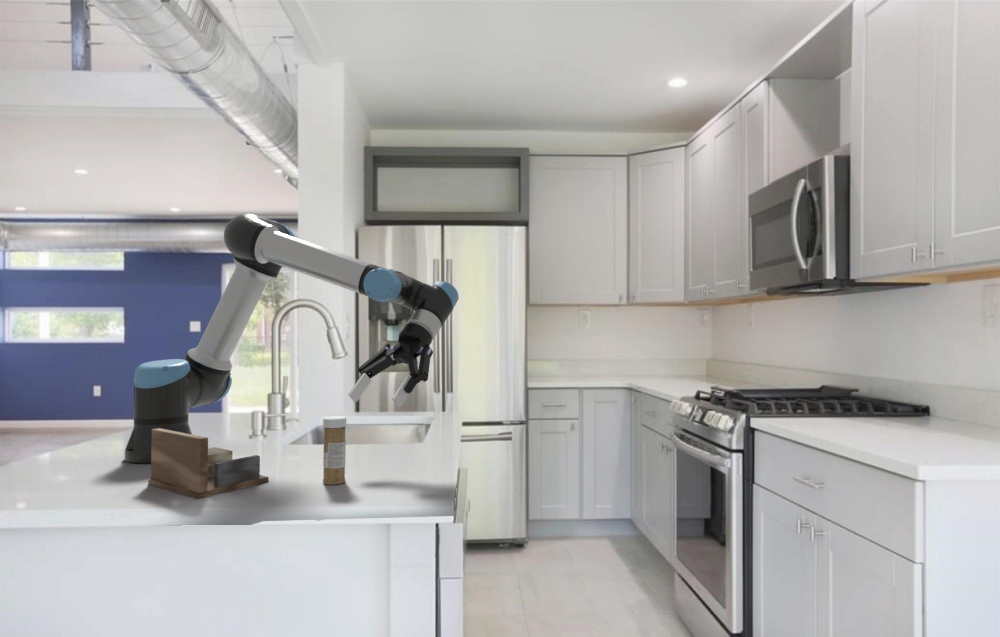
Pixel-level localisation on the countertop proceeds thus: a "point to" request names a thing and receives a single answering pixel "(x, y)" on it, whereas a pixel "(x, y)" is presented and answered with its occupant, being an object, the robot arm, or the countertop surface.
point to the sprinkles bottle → (334, 449)
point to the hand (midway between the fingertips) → (373, 400)
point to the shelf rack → (198, 466)
